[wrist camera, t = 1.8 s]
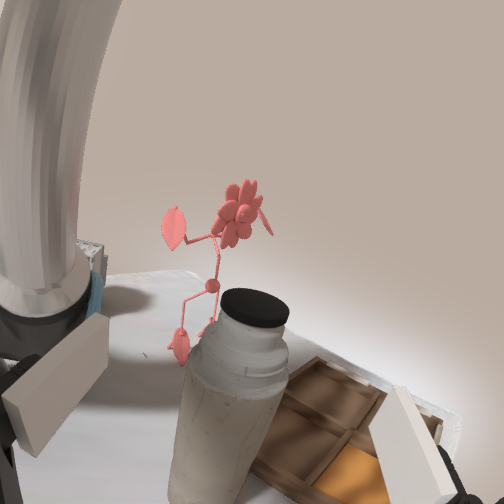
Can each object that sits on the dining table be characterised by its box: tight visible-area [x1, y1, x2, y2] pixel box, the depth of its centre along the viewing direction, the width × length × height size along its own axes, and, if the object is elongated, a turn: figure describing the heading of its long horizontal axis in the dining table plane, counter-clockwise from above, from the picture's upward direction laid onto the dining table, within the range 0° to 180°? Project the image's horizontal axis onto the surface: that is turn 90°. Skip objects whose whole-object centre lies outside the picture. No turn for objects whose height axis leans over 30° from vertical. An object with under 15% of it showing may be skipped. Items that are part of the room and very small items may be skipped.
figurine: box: [143, 179, 273, 366], centre depth 55 cm, size 15×26×35 cm, turn 145°
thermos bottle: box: [168, 288, 289, 504], centre depth 26 cm, size 8×8×28 cm
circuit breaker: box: [76, 239, 108, 287], centre depth 62 cm, size 8×14×15 cm, turn 10°
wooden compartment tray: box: [249, 356, 443, 504], centre depth 43 cm, size 31×31×4 cm
